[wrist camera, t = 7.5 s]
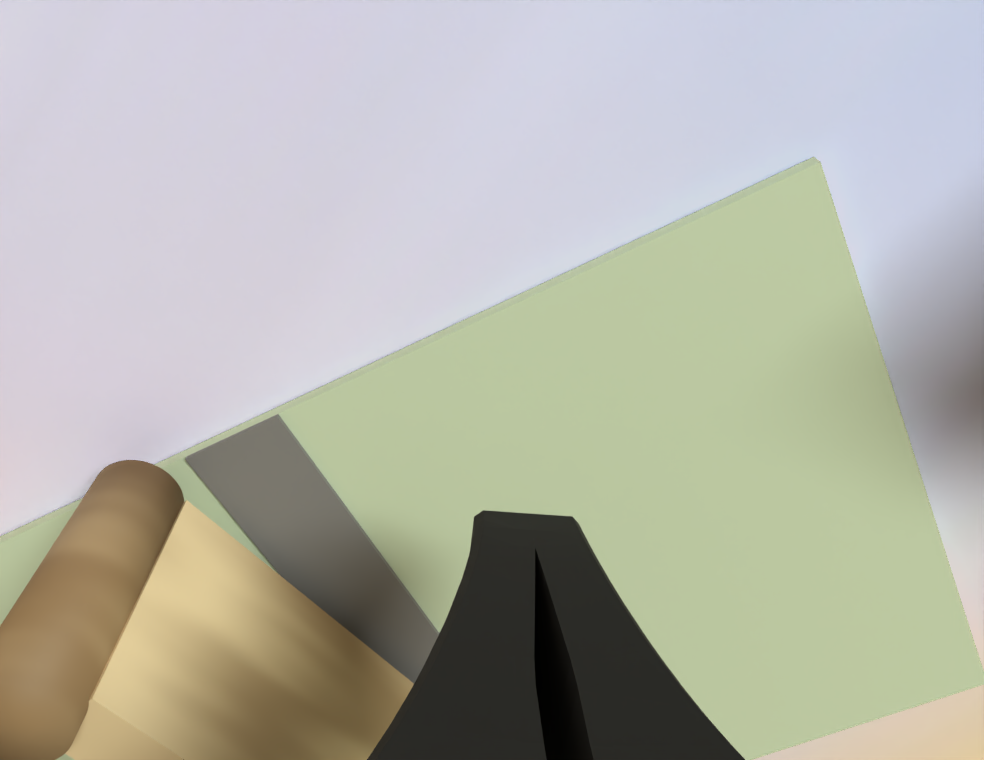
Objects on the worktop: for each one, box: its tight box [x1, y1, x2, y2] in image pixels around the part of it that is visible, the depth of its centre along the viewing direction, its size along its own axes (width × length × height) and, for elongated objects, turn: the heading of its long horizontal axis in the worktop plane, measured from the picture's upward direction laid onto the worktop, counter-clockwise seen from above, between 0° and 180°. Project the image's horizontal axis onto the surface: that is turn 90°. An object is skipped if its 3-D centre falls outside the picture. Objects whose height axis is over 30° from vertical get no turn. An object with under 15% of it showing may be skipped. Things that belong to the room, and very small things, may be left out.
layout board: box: [0, 157, 984, 760], centre depth 19 cm, size 13×22×1 cm, turn 117°
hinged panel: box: [0, 460, 414, 760], centre depth 15 cm, size 8×2×5 cm, turn 39°
